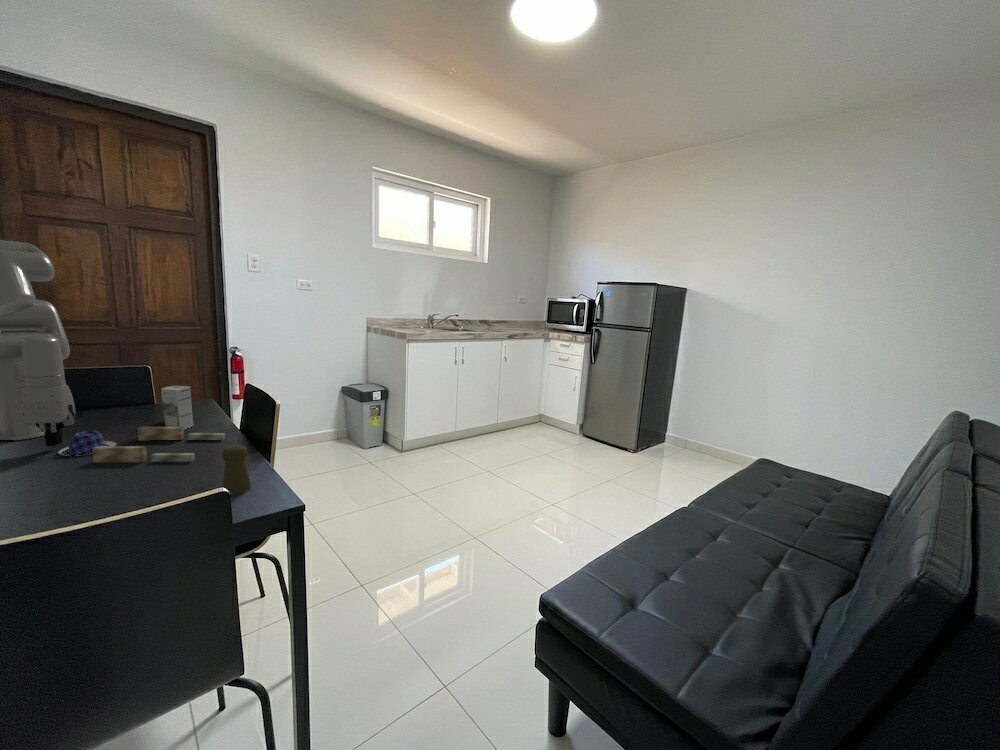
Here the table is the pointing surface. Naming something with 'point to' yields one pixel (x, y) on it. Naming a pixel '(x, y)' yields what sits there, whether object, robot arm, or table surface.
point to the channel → (140, 451)
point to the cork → (235, 469)
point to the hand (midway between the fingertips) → (54, 444)
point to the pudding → (85, 443)
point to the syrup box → (177, 406)
